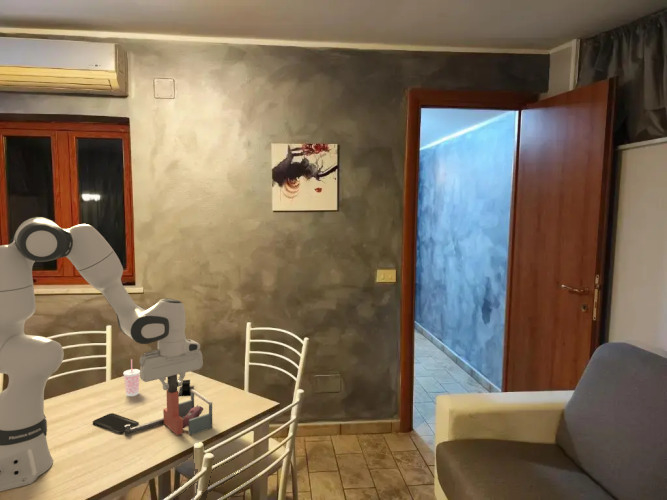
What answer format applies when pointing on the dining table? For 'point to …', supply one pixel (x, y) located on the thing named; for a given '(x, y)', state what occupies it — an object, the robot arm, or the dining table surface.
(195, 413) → the video game controller
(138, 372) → the beverage cup
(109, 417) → the phone
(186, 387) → the black piece
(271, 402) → the dining table surface
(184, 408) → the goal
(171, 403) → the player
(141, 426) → the rail
